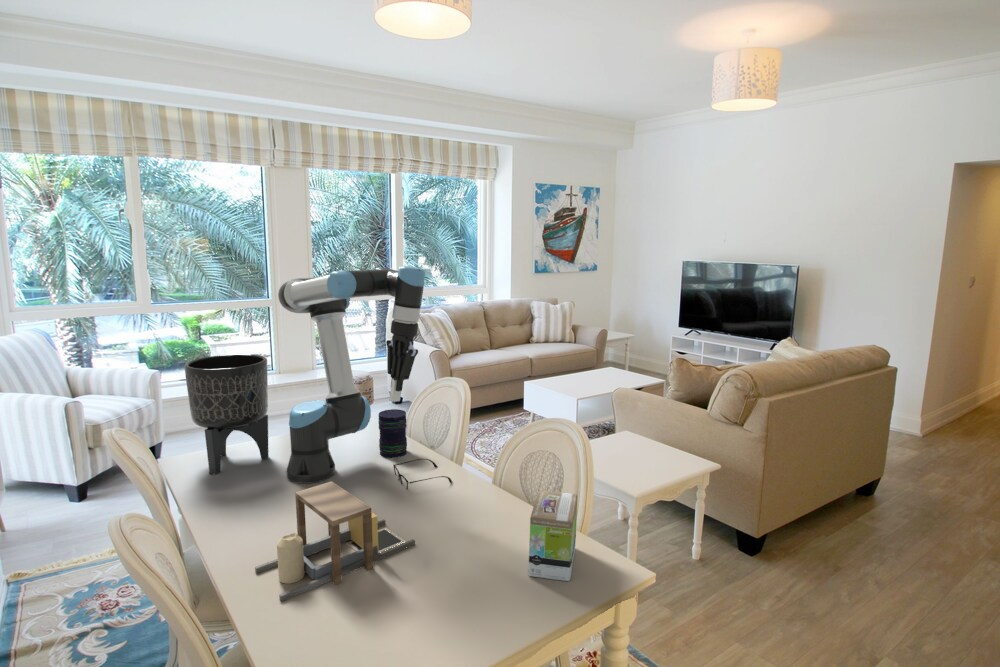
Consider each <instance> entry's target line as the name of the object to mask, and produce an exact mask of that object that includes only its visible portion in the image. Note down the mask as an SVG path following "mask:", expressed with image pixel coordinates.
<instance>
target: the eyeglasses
mask: <svg viewBox="0 0 1000 667" xmlns="http://www.w3.org/2000/svg"><path fill="white" fill-rule="evenodd" d="M419 460H422V458H418V459H414V460H408V461H404V462H400V463H397V464H396V463H395V464H393V466H392V467H393V471H394V476H395V475H396V476H398V481H400V484H401V485H402V484H403V479H404V480H405V482H406V489H407V490H409V484H413V483H417V482H422V481H427V480H432V479H436V478H438V476H436V477H430V478H423V479H418V480H413V481H408V479H407V478H406V477H405V476H404V475H402V474H400V472H399V469H398V468H397V466H398V465H403V464H407V463H410V462H414V461H415V462H416V461H419ZM424 460H426V461H428V462H431V463H432V465H433V466H434V468H438V465H437V464H436V463H435V462H434V460H431V459H428V458H424ZM397 474H398V475H397ZM439 478H446V479H447V480H448V481H449V483H452V482H453V481H452V479H451V478H450V477H449V476H445V475H441V476H439ZM451 481H452V482H451ZM403 485H404V484H403Z"/></svg>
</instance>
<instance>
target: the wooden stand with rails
mask: <svg viewBox="0 0 1000 667" xmlns="http://www.w3.org/2000/svg"><path fill="white" fill-rule="evenodd" d="M294 494H295V509H296V510H295V512H296V530H297V535H298V536H300V537H301V538H302V539H303V545H306V544H308V542H307V527H306V526H307V525H306V524H307V523H306V522H307V521H306V508H305V506H306V507H307V508H308V509H310V510H312V512H314V513H315V514H317V515H318V516H319V517H321V518H322V519H323V520H324V521H325V522H327V526H328V527H327V528H328V529H327V530H328V536H330V538H331V547H330V554H331V556H330V558H331V561H332V573H330V574H328V575H326V576H323V577H321V578H318V579H313V580H311V581H309V582H306V583H304V584H301V585H299V586H297V587H295V588H294V587H293V588H292V589H290V590H287V591H285V592H283V593H280V594H279V601H280V602H284V601H286V600H288V599H290V598H293V597H296V596H297V595H300V594H302V593H304V592H305V593H306V592H307V591H309V590H312V589H314V588H317V587H319V586H321V585H323V584H326V583H328V582H331V581H332V583H333V584H334V585H335V586H337V585H339V584H341V583H343V581H342V580H343V578H342V577H343V576H344V575H347V574H349V573H351V572H354V571H357V570H359V569H361V568H363V567H364V568H363V569H364V570H366V571H367V572H369V571H371V570H374V563H375V562H378V561H380V560H382V559H384V557H385V558H387V557H389V556H391V554H392V555H394V554H396V552H397V553H399V552H401V551H404V550H405V549H404V548H406V547H408V548H410V547H409V546H411V545H413V546H415V545H416V540H415V539H413V538H412V539H409V540H407V541H406V542H405V543H402V544H400V545H398V546H395V547H393V548H390V549H388V550H386V551H383V552H381V553H378V554H376V555H374V556H373V541H372V513H373V511H372V507H371V506H370V505H368V504H366V503H365V502H363V501H362V500H360V499H359V498H358V497H356V496H355V495H353V494H351V493H350V492H348V491H347V490H346V489H344V488H342V487H341V486H340V485H338V484H336V483H335V482H333V481H329V482H326V483H321V484H318V485H314V486H312V487H309V488H304V489H302V490H299V491H296V492H295V493H294ZM361 516H363V543H364V560H362V561H359V562H357V563H354V564H352V565H350V566H347V567H345V568H342V569H341V557H342V556H341V555H342V554H341V553H342V552H341V543H340V532H341V530H340V529H341V528H340V524H341V525H342V524H343V523H348V521H349V520H352V519H355V518H358V517H361ZM384 524H385V525H386V520H385V519H381V520H378V528H379V526H380V527H382V525H383V526H385V525H384ZM414 544H415V545H414ZM411 547H412V546H411ZM403 549H404V550H403ZM406 549H407V548H406ZM400 550H401V551H400ZM398 551H399V552H398ZM393 553H394V554H393ZM274 567H278V558H276V559H273V560H270V561H268V562H265V563H262V564H261V565H257V566H255V568H254V570H255V573H256V574H259V573H261V572H264V571H267V570H269V569H271V568H274Z"/></svg>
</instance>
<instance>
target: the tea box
mask: <svg viewBox="0 0 1000 667" xmlns="http://www.w3.org/2000/svg"><path fill="white" fill-rule="evenodd" d="M577 514H578V493H569V492H561V491H560V492H559V491H548V490H538V492H537V495H536V499H535V502H534V505H533V508H532V511H531V514H530V517H529V520H530V521H529V523H530V524H529V546H528V548H529V549H528V569H527V570H528V573H527V574H528V576H529V577H534V578H541V579H548V580H556V581H565V582H570V580H571V576H572V571H573V563H574V556H575V550H576V543H577V542H576V540H577V539H576V537H577V516H578V515H577Z"/></svg>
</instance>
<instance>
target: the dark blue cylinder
mask: <svg viewBox="0 0 1000 667" xmlns="http://www.w3.org/2000/svg"><path fill="white" fill-rule="evenodd" d="M407 427H408V426H407V412H406V411H405V410H403V409H397V408H393V409H385V410H382V411H380V412H378V430H379V438H378V439H379V440H378V443H379V444H378V448H379V456H380V455H381V456H380V457H381V458H384V457H385V458H386V459H397V458H402V457H404V456H406V455H407V453H408V450H407V449H408V448H407V447H408V440H407V439H408V438H407V432H406V429H407Z"/></svg>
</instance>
